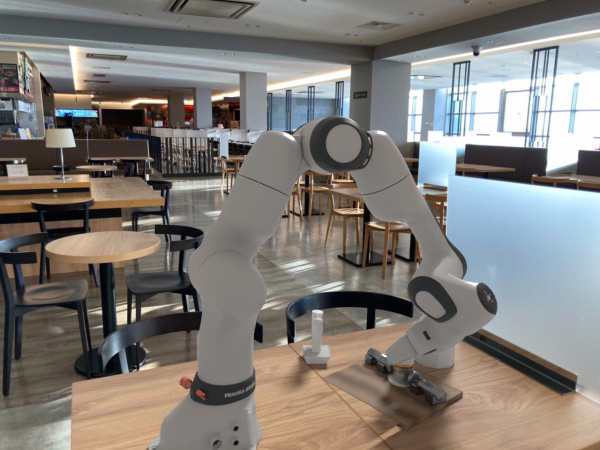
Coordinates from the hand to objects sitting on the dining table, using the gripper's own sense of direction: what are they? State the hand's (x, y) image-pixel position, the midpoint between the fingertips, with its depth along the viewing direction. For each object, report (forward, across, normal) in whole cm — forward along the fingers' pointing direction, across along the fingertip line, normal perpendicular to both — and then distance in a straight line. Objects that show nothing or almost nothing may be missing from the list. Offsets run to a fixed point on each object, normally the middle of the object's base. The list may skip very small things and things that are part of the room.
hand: (401, 356), depth 120 cm
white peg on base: (+20, +9, -10) cm, 24 cm away
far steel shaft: (+10, -1, -1) cm, 10 cm away
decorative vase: (+7, -18, +4) cm, 20 cm away
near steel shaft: (-2, +1, +10) cm, 11 cm away
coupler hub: (+4, 0, +5) cm, 6 cm away
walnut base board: (+5, +4, +5) cm, 8 cm away
